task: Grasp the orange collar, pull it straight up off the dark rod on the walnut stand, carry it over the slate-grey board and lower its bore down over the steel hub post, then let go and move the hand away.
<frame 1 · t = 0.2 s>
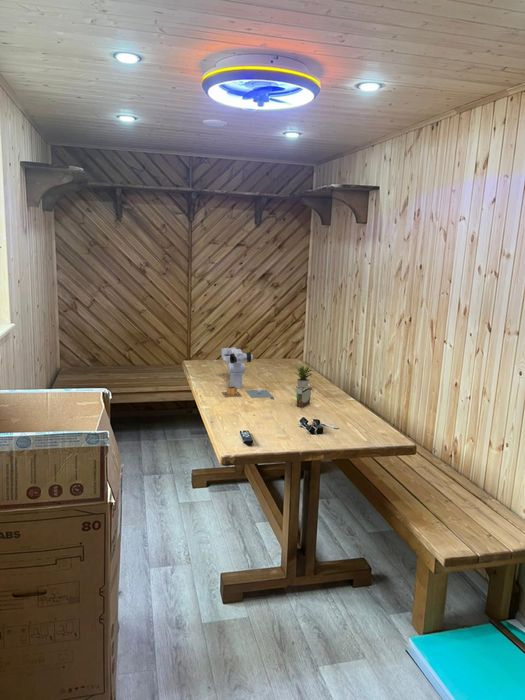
hand: (242, 359, 307), 21 cm above the table, tool horizontal, fingers open, 7 cm apart
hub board: (259, 395, 314), on the table
food container: (300, 405, 296), on the table
stand: (231, 396, 310), on the table
house plant: (303, 390, 331), on the table
collar: (231, 394, 310), point 1 cm above the table, touching stand
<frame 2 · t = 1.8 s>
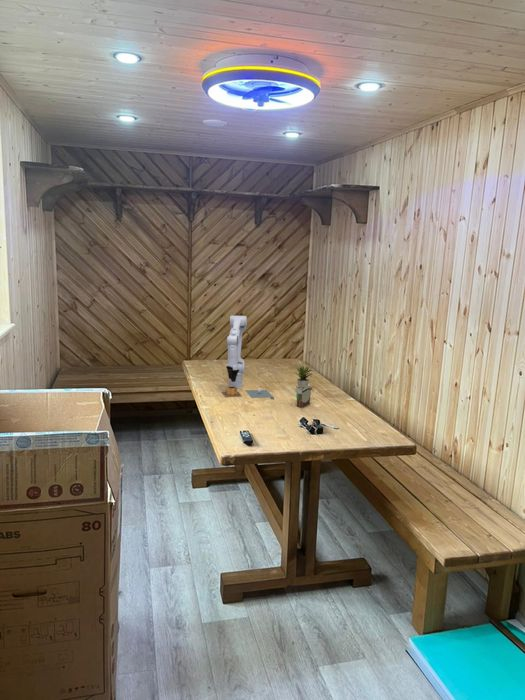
hand: (232, 380, 308), 10 cm above the table, tool pointing down, fingers open, 7 cm apart
nothing on the table moved.
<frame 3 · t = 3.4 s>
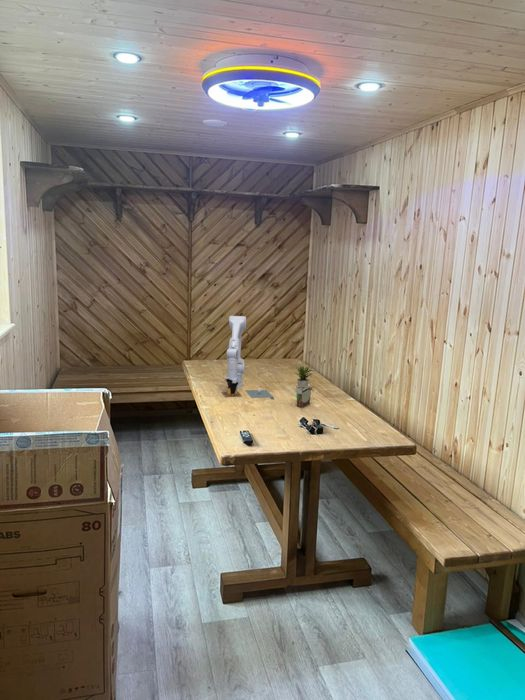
hand: (231, 392, 310), 2 cm above the table, tool pointing down, fingers closed on collar, 5 cm apart
collar: (231, 394, 310), point 1 cm above the table, touching gripper, stand
everything else where it was.
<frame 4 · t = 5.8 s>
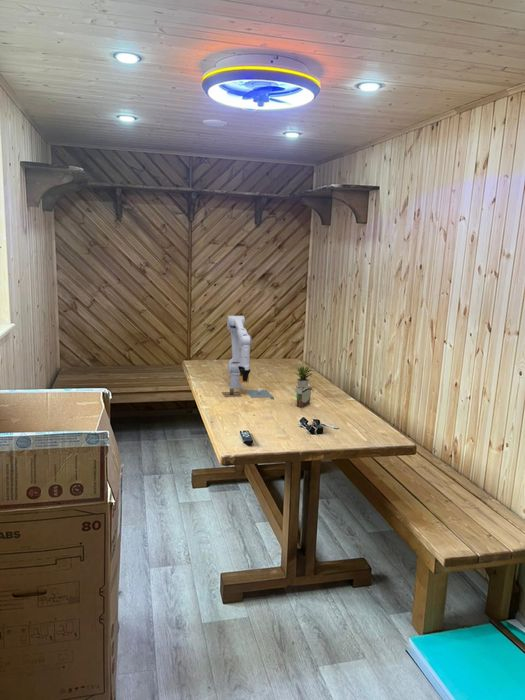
hand: (244, 380, 310), 9 cm above the table, tool pointing down, fingers closed on collar, 5 cm apart
collar: (243, 381, 310), point 8 cm above the table, touching gripper
everything else where it was.
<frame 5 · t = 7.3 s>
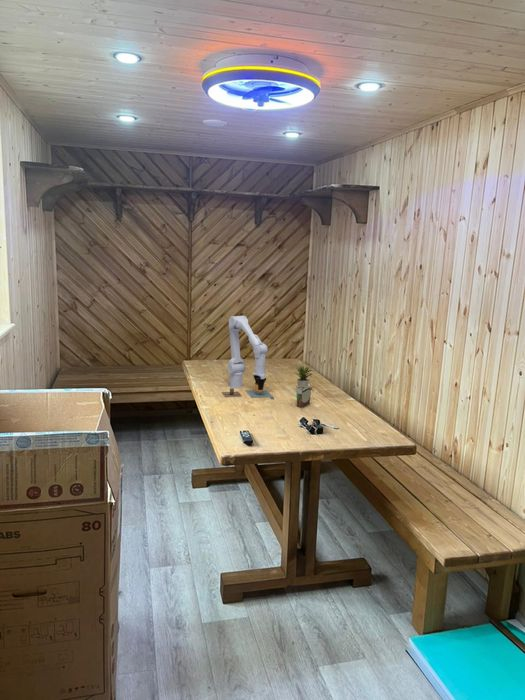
hand: (259, 388, 313), 4 cm above the table, tool pointing down, fingers closed on collar, 5 cm apart
collar: (259, 390, 313), point 3 cm above the table, touching gripper
everything else where it was.
when the fingers open (3 cm above the table, at t = 8.5 s): collar drops 1 cm, resting on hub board.
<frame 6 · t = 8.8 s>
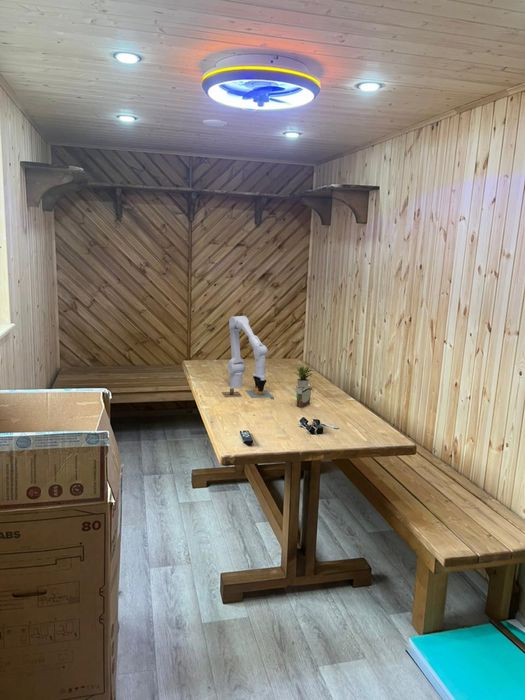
hand: (259, 390, 313), 3 cm above the table, tool pointing down, fingers open, 7 cm apart
collar: (258, 393, 313), point 1 cm above the table, touching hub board
everything else where it was.
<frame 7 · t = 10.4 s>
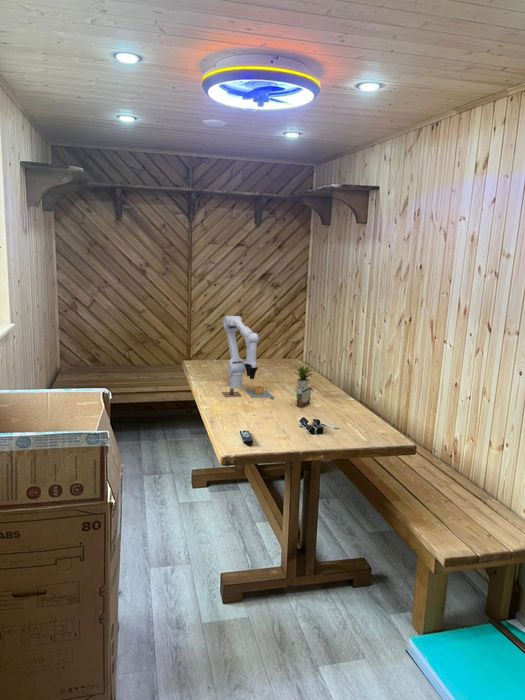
hand: (250, 377, 313), 10 cm above the table, tool pointing down, fingers open, 7 cm apart
nothing on the table moved.
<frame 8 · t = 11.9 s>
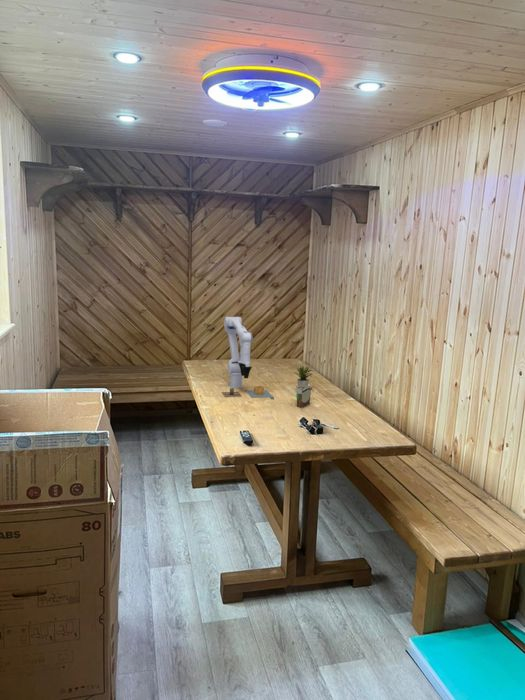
hand: (244, 376, 314), 10 cm above the table, tool pointing down, fingers open, 7 cm apart
nothing on the table moved.
at the end: collar 0.1 cm off-centre on the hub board, point 1.2 cm above the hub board's base; collar tilted 0°; the gripper is holding nothing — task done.
